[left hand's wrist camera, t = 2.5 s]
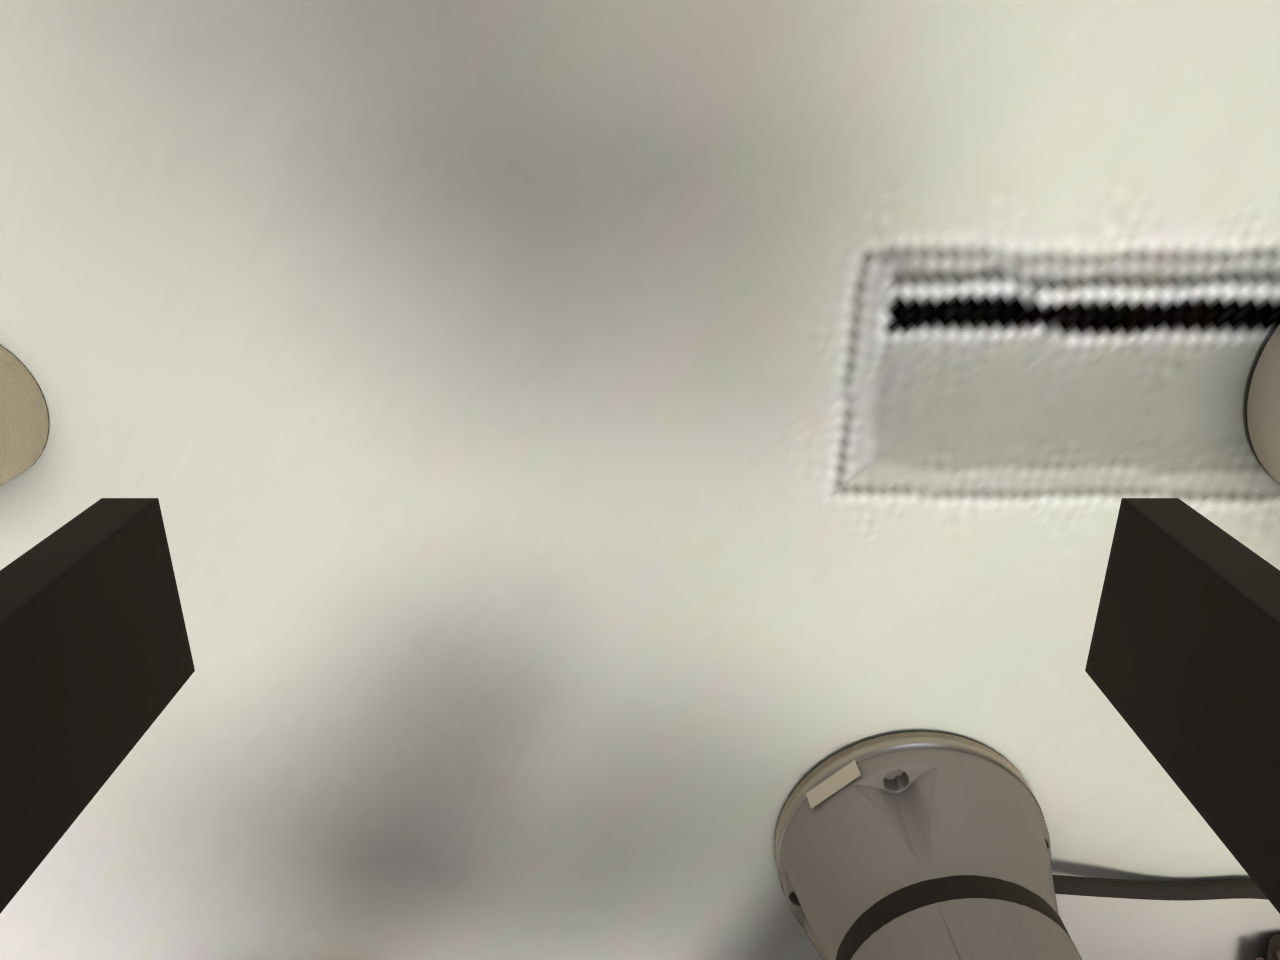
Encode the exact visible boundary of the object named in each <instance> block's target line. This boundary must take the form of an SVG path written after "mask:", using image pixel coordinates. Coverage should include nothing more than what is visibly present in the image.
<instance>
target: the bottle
mask: <svg viewBox="0 0 1280 960" xmlns="http://www.w3.org/2000/svg"><path fill="white" fill-rule="evenodd" d="M48 430H49V420H48V411H47V407H46V403H45V400H44V398H43V395H42V393H41V390H40V389H39V387H38V385H37V383H36V381H35V380H34V378H33V377H32V375H31V374H30V372H29V371H28V370H27V369H26V368H25V366H24V365H23V364H22V363H21V362H20V361H19V360H18V359H17V358H16V357H15V356H14V355H13V354H11V353H10V352H9V351H7V350H6V349H5V348H4V347H2V346H0V485H2V484H4V483H5V482H7V481H9V480H11V479H12V478H14V477H16V476H18V475H19V474H21V473H22V472H24V471H26V470H27V469H28V468H29V467H31V466H32V465H33V464H34V463H35V462H36V460H37V459H38V458H39V457H40V455H41V453H42V451H43V449H44V447H45V444H46V441H47V436H48Z"/></svg>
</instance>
